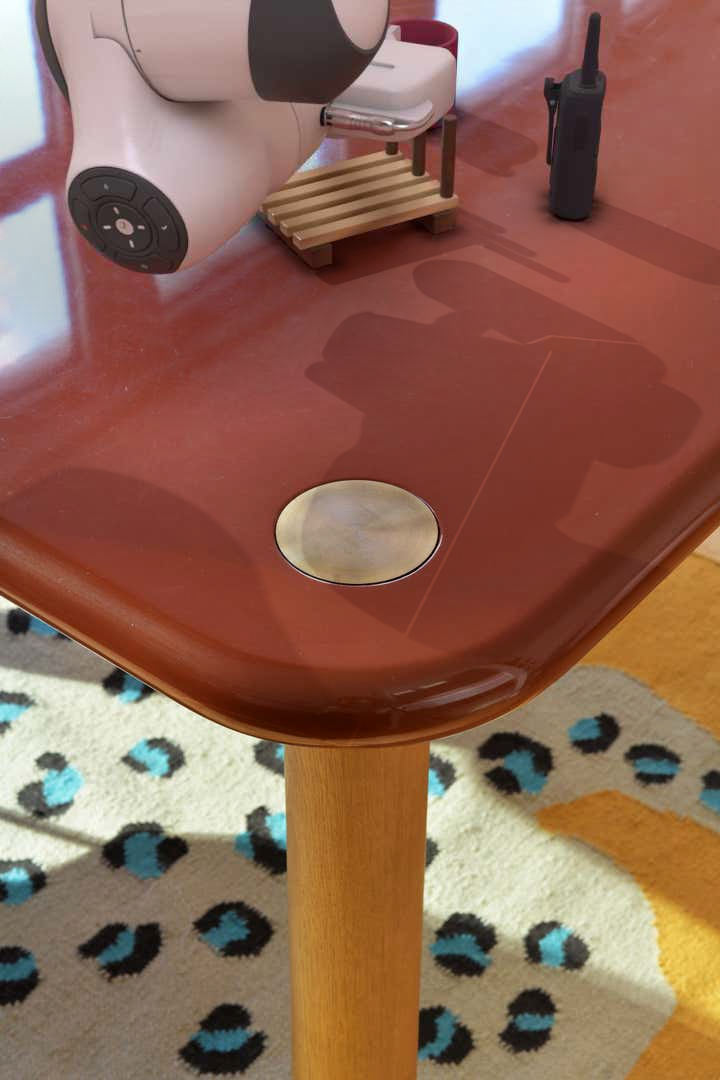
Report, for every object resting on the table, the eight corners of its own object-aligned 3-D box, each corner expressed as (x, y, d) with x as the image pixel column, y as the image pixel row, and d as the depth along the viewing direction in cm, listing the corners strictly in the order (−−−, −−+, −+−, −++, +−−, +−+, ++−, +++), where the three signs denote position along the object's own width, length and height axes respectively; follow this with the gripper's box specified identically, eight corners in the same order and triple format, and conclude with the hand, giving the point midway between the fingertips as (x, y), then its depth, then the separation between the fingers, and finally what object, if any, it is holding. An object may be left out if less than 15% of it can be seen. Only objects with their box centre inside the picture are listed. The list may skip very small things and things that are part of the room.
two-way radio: (590, 226, 100) (615, 22, 90) (530, 221, 101) (548, 18, 91) (594, 191, 104) (618, -8, 94) (536, 186, 105) (554, -11, 95)
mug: (448, 95, 118) (451, 16, 113) (467, 146, 110) (471, 63, 106) (371, 98, 117) (371, 19, 113) (385, 150, 110) (386, 67, 105)
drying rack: (303, 271, 96) (299, 161, 90) (242, 212, 102) (235, 106, 97) (460, 227, 100) (466, 120, 95) (392, 173, 107) (394, 69, 101)
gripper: (416, 83, 77) (491, 1, 87) (102, 33, 83) (205, -38, 93) (413, 185, 81) (485, 96, 91) (115, 131, 87) (212, 53, 97)
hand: (342, 28), depth 92 cm, fingers closed on beverage can, 5 cm apart
